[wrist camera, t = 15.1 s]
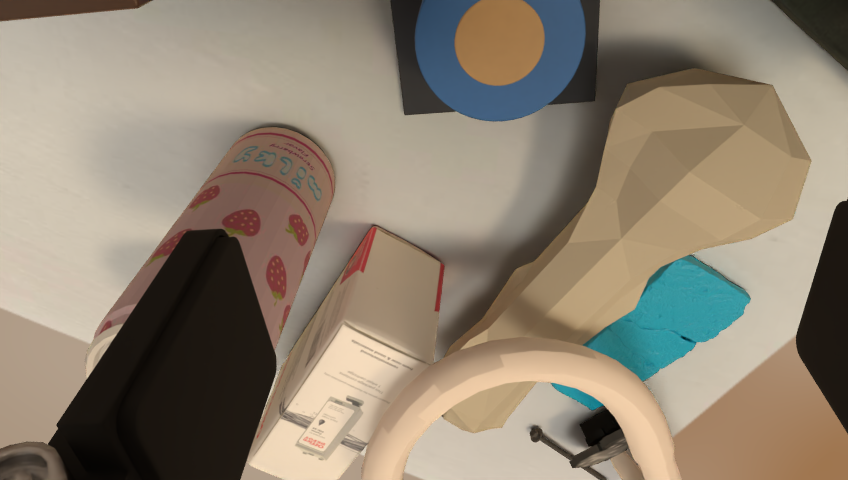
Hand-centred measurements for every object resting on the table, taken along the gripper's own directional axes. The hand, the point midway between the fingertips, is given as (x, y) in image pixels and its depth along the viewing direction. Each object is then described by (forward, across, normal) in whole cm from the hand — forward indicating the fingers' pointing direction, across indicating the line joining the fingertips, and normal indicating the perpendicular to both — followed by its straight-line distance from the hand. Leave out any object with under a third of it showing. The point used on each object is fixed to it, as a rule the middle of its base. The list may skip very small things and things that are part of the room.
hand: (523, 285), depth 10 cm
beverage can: (+21, +11, +8) cm, 25 cm away
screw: (+19, -4, +31) cm, 37 cm away
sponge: (+19, -11, +22) cm, 31 cm away
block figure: (+19, -4, +29) cm, 35 cm away
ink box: (+16, +5, +12) cm, 21 cm away
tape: (+20, 0, +1) cm, 20 cm away
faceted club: (+20, -3, +13) cm, 24 cm away
